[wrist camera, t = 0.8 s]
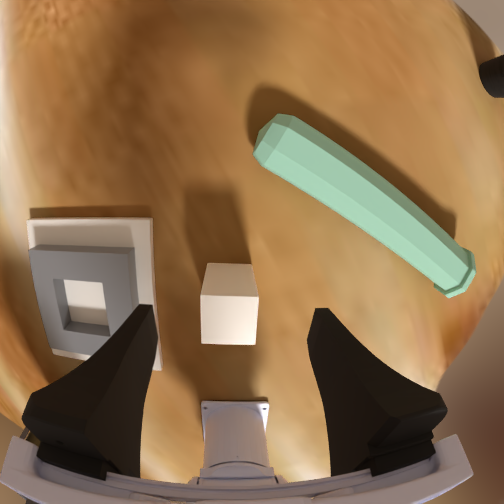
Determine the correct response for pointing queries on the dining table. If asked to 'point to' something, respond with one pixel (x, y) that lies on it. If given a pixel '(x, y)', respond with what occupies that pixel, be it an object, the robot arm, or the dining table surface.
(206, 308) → the block
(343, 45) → the dining table surface
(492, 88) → the drinking cup
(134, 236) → the plate
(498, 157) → the dining table surface
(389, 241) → the container
